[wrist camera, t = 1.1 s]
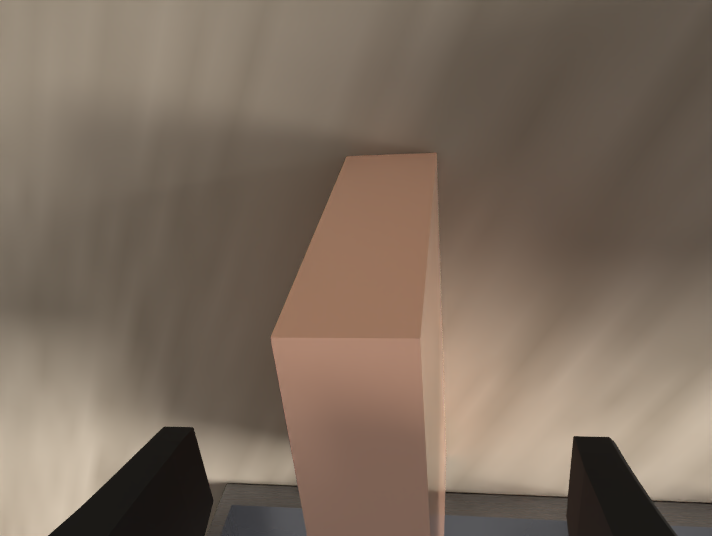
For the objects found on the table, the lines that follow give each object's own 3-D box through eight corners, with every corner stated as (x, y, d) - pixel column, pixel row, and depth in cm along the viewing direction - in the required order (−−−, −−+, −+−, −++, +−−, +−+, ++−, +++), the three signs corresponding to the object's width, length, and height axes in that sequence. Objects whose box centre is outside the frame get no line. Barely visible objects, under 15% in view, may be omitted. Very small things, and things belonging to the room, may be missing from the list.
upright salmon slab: (436, 151, 15) (419, 338, 9) (446, 453, 19) (439, 716, 13) (347, 155, 15) (269, 337, 9) (376, 450, 19) (338, 706, 13)
